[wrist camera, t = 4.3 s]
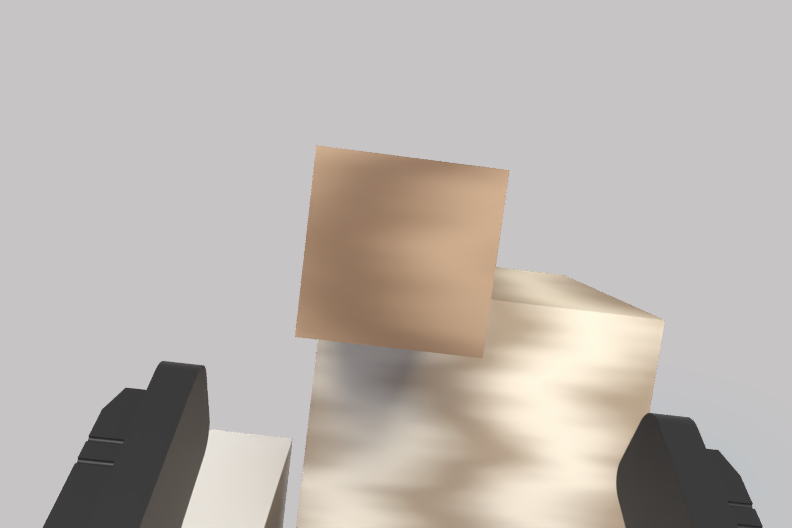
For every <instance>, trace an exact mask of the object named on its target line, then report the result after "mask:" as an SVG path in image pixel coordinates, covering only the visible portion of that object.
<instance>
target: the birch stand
mask: <svg viewBox="0 0 792 528" xmlns="http://www.w3.org/2000/svg"><path fill="white" fill-rule="evenodd" d="M664 323H665V320H663V319H661V318H659V317H656V316H654V315H652V314H650V313H648V312H645V311H643V310H641V309H639V308H636V307H634V306H632V305H630V304H627V303H625V302H623V301H621V300H618V299H616V298H614V297H612V296H609V295H607V294H605V293H603V292H600V291H598V290H596V289H594V288H592V287H589V286H587V285H585V284H583V283H580V282H578V281H576V280H574V279H571V278H569V277H567V276H565V275H557V274H549V273H541V272H533V271H524V270H516V269H508V268H500V267H496V268H495V275H494V282H493V289H492V296H491V303H490V310H489V317H488V324H487V332H486V339H485V346H484V353H483V358H475V357H467V356H458V355H449V354H440V353H432V352H423V351H414V350H406V349H397V348H388V347H379V346H371V345H362V344H353V343H344V342H336V341H327V340H318V344H317V352H316V361H315V371H314V378H313V387H312V396H311V404H310V413H309V422H308V431H307V440H306V448H305V458H304V465H303V475H302V483H301V491H300V500H299V509H298V517H297V527H296V528H626V527H625V523H624V520H623V516H622V512H621V508H620V504H619V501H618V496H617V490H616V476H617V469H618V466H619V463H620V461H621V459H622V457H623V455H624V453H625V451H626V449H627V447H628V445H629V443H630V441H631V439H632V437H633V435H634V433H635V431H636V429H637V427H638V425H639V423H640V422H641V420H642V418H643V417H644V415H646V414H647V413H649V411H650V405H651V400H652V394H653V388H654V382H655V375H656V370H657V364H658V358H659V352H660V346H661V340H662V335H663V329H664Z"/></svg>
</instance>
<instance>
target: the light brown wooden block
mask: <svg viewBox="0 0 792 528" xmlns="http://www.w3.org/2000/svg"><path fill="white" fill-rule="evenodd" d="M508 176H509V170H503V169H495V168H487V167H480V166H472V165H464V164H456V163H449V162H441V161H433V160H426V159H425V160H424V159H418V158H409V157H402V156H394V155H386V154H379V153H371V152H363V151H355V150H348V149H340V148H332V147H324V146H316V153H315V163H314V172H313V181H312V189H311V199H310V208H309V218H308V225H307V234H306V243H305V252H304V261H303V270H302V279H301V288H300V289H301V290H300V298H299V306H298V315H297V324H296V334H295V337H302V338H311V339H318V340H327V341H336V342H344V343H353V344H362V345H371V346H379V347H388V348H397V349H406V350H414V351H423V352H432V353H440V354H449V355H458V356H467V357H475V358H483V353H484V346H485V339H486V332H487V324H488V317H489V310H490V303H491V296H492V289H493V282H494V275H495V268H496V261H497V253H498V246H499V240H500V233H501V226H502V219H503V211H504V204H505V197H506V190H507V183H508Z"/></svg>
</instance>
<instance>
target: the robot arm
mask: <svg viewBox="0 0 792 528" xmlns="http://www.w3.org/2000/svg"><path fill="white" fill-rule="evenodd" d="M209 423H210V421H209V406H208V391H207V377H206V369H205V366H203V365H194V364H184V363H175V362H167V361H162V362H160V363H159V365H158V366H157V368H156V370H155V372H154V375H153V377H152V379H151V381H150V384H149V386H148V388H147V390H142V389H133V388H125V389H124V390H123V391H122V392H121V393H120V394H118V395H117V396H116V397H115V398H114V399H113V400H112V401H111V402H110V403H109V404H108V405H107V406H105V407H104V408H103V409H102V411H101V413H100V415H99V417H98V419H97V421H96V423H95V425H94V427H93V429H92V431H91V433H90V435H89V439H88V441H86V443H85V445H84V447H83V449H82V451H81V453H80V455H79V456H78V461H77V463H76V464H75V465H74V466H73V468H72V470H71V473H70V474H69V476H68V478H67V481H66V482H65V484H64V486H63V488H62V490H61V492H60V494H59V496H58V498H57V501H56V503H55V504H54V507H53V508H52V510H51V512H50V514H49V516H48V518H47V520H46V522H45V524H44V526H43V528H181V527H182V523H183V520H184V517H185V514H186V511H187V508H188V505H189V502H190V498H191V495H192V492H193V489H194V486H195V483H196V480H197V477H198V474H199V470H200V467H201V464H202V461H203V458H204V455H205V451H206V447H207V442H208V435H209ZM616 490H617V496H618V501H619V504H620V508H621V512H622V516H623V520H624V523H625V527H626V528H762V524H761V522H760V519H759V517H758V515H757V513H756V511H755V509H753V508H752V504H753V503H752V501H751V499H750V497H749V495H748V492H747V490H746V488H745V485H744V483H743V481H742V479H741V476H740V475H739V474H738V473H737V471H736V470H735V469H734V468H733V467H732V466H731V464H730V463H729V462H728V461H727V460H726V459H725V457H724V456H723V455H722V454H721V453H720V452H719V450H712V449H706V448H705V445H704V443H703V440H702V438H701V435H700V433H699V430H698V428H697V426H696V424H695V422H694V421H693V420H692V419H691V418H688V417H680V416H671V415H662V414H653V413H647V414H646V415H644V417H643V418H642V420H641V422H640V423H639V425H638V427H637V429H636V431H635V433H634V435H633V437H632V439H631V441H630V443H629V445H628V447H627V449H626V451H625V453H624V455H623V457H622V459H621V461H620V463H619V466H618V469H617V476H616Z"/></svg>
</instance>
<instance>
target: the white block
mask: <svg viewBox="0 0 792 528" xmlns="http://www.w3.org/2000/svg"><path fill="white" fill-rule="evenodd" d="M291 447H292V438H284V437H275V436H266V435H257V434H247V433H238V432H229V431H219V430H210V429H209V435H208V442H207V447H206V451H205V455H204V458H203V461H202V464H201V467H200V470H199V474H198V477H197V480H196V483H195V486H194V489H193V492H192V495H191V498H190V502H189V505H188V508H187V511H186V514H185V517H184V520H183V523H182V527H181V528H282V527H283V519H284V509H285V501H286V492H287V483H288V474H289V465H290V456H291Z"/></svg>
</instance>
